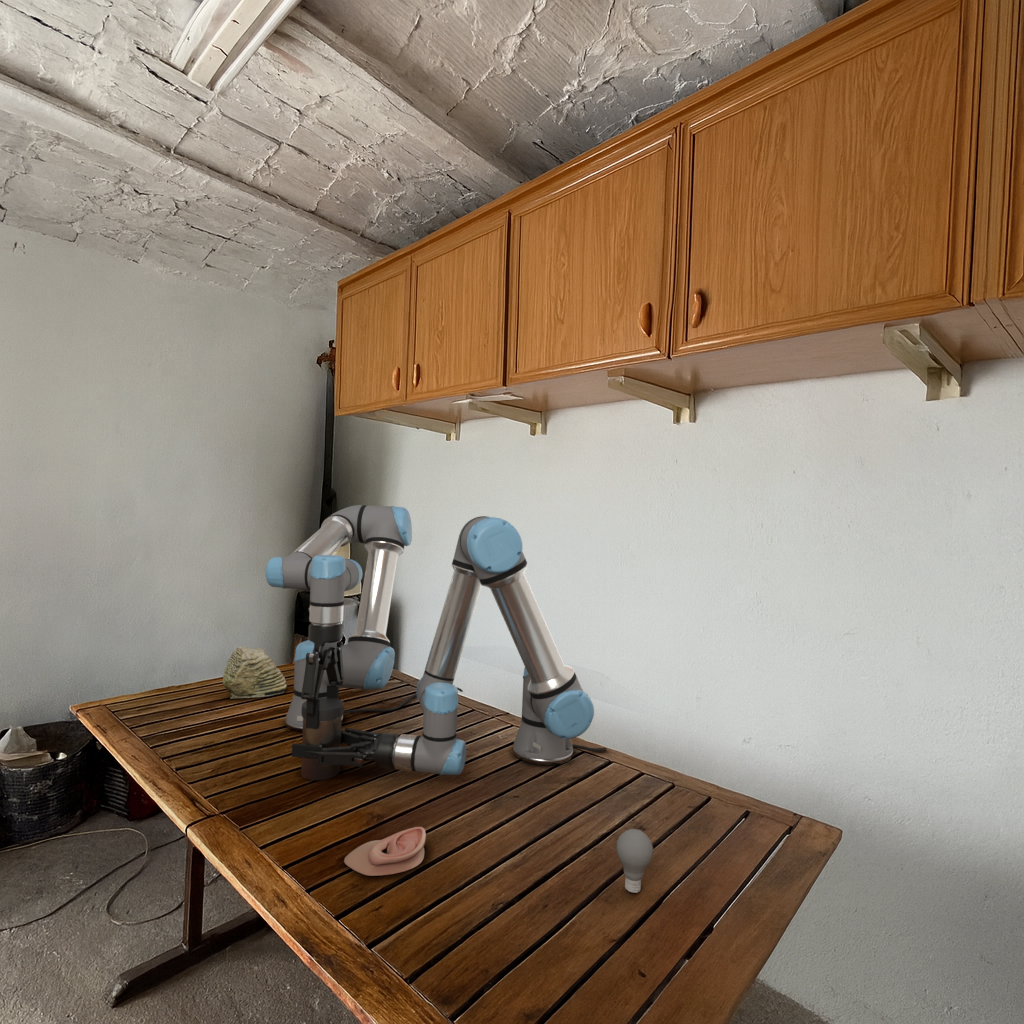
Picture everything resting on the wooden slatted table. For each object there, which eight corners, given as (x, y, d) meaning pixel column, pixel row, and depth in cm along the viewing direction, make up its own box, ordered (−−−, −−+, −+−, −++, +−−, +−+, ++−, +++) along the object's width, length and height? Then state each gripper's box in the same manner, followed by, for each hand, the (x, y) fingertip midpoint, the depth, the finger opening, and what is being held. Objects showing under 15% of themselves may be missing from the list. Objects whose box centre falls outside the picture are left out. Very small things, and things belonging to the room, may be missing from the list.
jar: (345, 774, 145) (348, 707, 145) (309, 783, 140) (312, 714, 139) (330, 761, 151) (333, 697, 151) (295, 769, 146) (297, 703, 146)
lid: (350, 716, 145) (350, 706, 145) (310, 723, 139) (311, 713, 139) (333, 704, 152) (333, 695, 152) (295, 711, 146) (295, 701, 146)
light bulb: (610, 879, 108) (613, 822, 108) (644, 879, 109) (647, 822, 109) (619, 902, 102) (622, 840, 102) (655, 901, 103) (658, 840, 103)
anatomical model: (336, 847, 108) (365, 815, 119) (335, 870, 108) (364, 836, 119) (410, 859, 105) (432, 825, 116) (409, 883, 105) (431, 846, 116)
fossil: (218, 695, 195) (220, 647, 195) (278, 685, 208) (279, 640, 207) (228, 703, 189) (230, 653, 188) (289, 692, 201) (290, 645, 201)
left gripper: (332, 613, 156) (328, 704, 157) (286, 631, 135) (282, 735, 135) (360, 615, 155) (357, 707, 155) (319, 633, 133) (315, 739, 134)
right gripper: (380, 789, 133) (278, 778, 136) (410, 750, 154) (321, 741, 157) (381, 753, 132) (279, 743, 135) (411, 719, 153) (322, 711, 157)
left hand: (322, 720), depth 145 cm, fingers closed on lid, 9 cm apart
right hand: (302, 742), depth 146 cm, fingers closed on jar, 8 cm apart
